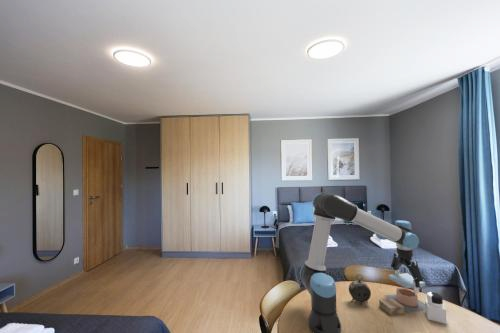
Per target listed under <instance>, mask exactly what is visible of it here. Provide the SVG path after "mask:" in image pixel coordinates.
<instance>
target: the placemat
mask: <svg viewBox="0 0 500 333" xmlns="http://www.w3.org/2000/svg"><path fill="white" fill-rule="evenodd" d="M384 297H385V299H390V298H393V299H394V300H395V301H397V296H396V293H395V294H389V295H384ZM397 302H398V301H397ZM398 303H399V302H398ZM399 304H401V303H399ZM401 305H402V304H401ZM402 306H404V313H412V312H413V313H414V312H421V311H426V309H425V302H423V301H421V300H419V299H418V306H417V307H408V306H405V305H402Z"/></svg>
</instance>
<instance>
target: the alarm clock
mask: <svg viewBox="0 0 500 333" xmlns="http://www.w3.org/2000/svg"><path fill="white" fill-rule="evenodd" d="M358 276H361V279H360V278H359V279H358ZM355 277H356V280H353V281H352V282H350V284H349V286H348V292H349V295H350V296H351V297H352V299H351V302H352V303H353V301H355V302H357V303H360V306H363V303H369V302H368V301H369V299H370V298H371V295H372V292H371V289H370V287H369V286H368V285H367V283H366V282H364V281H363V275H362V274H357V275H356V276H355Z"/></svg>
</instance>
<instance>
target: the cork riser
mask: <svg viewBox="0 0 500 333" xmlns="http://www.w3.org/2000/svg"><path fill="white" fill-rule="evenodd" d="M378 301H379V306H378V307H380V308H381V309H382V310H383V311H385V313H387V314H388V315H389V316H398V315H400V316H401V315H405V311H404V306H402V305H401V304H399V303H398V302H397V301H395V300H394V299H393V298H390V299H388V298H382V299H379V300H378Z"/></svg>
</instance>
